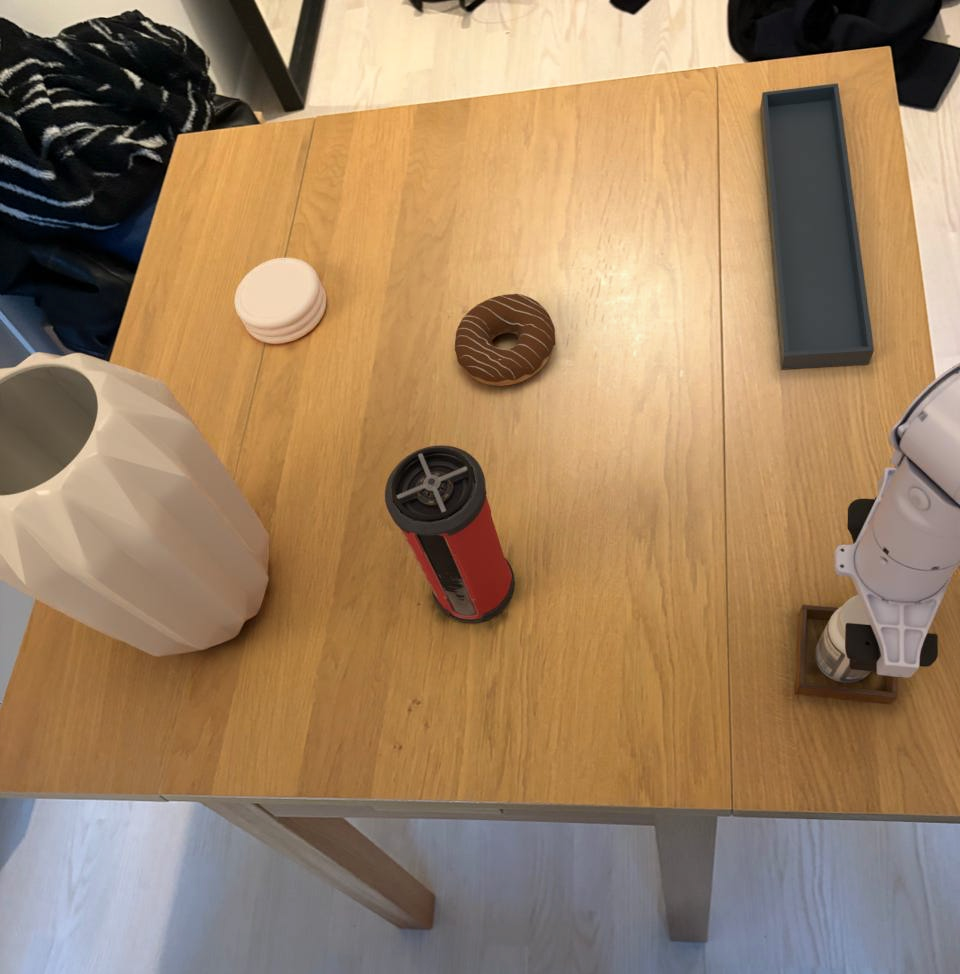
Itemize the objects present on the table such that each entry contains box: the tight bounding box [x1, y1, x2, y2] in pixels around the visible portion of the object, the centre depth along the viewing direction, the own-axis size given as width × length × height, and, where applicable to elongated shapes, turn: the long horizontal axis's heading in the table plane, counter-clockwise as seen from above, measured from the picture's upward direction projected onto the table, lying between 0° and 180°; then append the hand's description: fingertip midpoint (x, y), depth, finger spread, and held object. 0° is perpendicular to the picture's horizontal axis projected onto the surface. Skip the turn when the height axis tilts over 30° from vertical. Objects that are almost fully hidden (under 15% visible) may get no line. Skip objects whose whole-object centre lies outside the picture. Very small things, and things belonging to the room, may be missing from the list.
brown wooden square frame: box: [794, 604, 899, 705], centre depth 68 cm, size 7×7×2 cm
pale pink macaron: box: [233, 257, 327, 345], centre depth 93 cm, size 10×10×4 cm
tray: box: [759, 82, 875, 370], centre depth 85 cm, size 37×8×2 cm, turn 176°
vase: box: [0, 351, 270, 658], centre depth 69 cm, size 20×20×27 cm
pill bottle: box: [814, 594, 872, 684], centre depth 65 cm, size 5×5×8 cm
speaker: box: [384, 444, 516, 623], centre depth 69 cm, size 8×8×18 cm
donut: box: [454, 293, 557, 387], centre depth 85 cm, size 11×11×4 cm
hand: (865, 618), depth 62 cm, fingers open, 7 cm apart
